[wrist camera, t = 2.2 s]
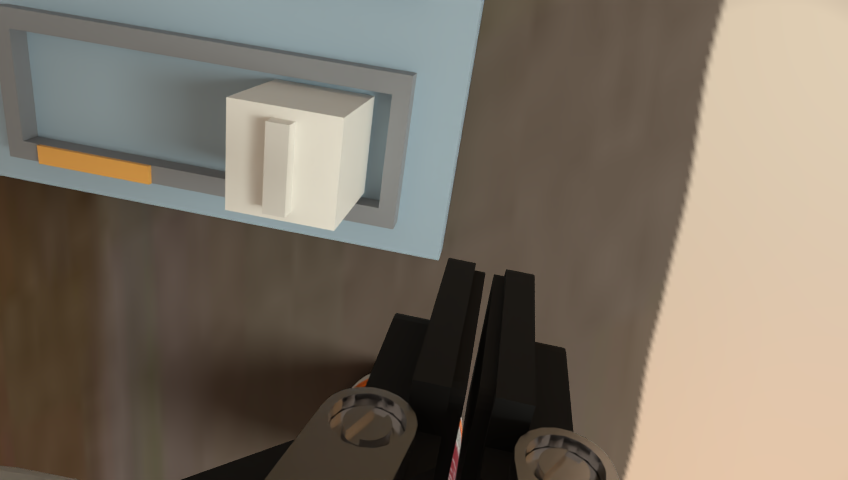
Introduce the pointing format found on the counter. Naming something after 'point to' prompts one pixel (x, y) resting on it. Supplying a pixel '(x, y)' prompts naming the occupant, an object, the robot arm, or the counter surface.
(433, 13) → the switch bank
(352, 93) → the white block with handle
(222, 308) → the counter surface
